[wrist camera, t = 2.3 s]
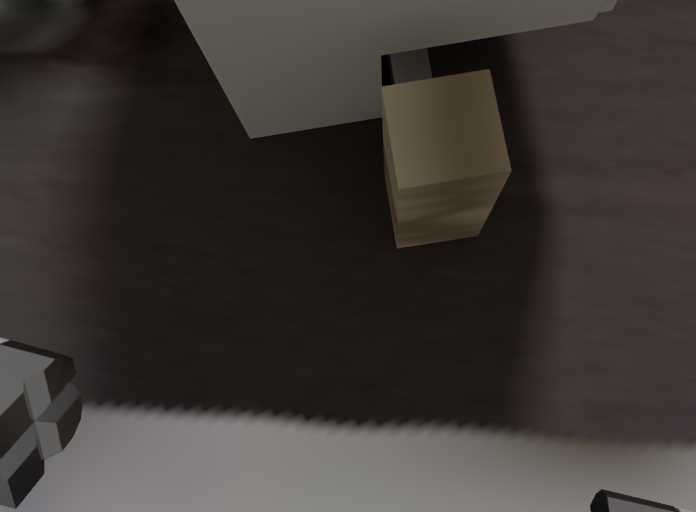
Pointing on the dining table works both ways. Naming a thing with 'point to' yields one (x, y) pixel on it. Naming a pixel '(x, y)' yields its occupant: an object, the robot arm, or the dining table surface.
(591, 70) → the dining table surface
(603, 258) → the dining table surface
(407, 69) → the wooden handled saw
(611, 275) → the dining table surface
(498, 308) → the dining table surface
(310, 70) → the cabinet
